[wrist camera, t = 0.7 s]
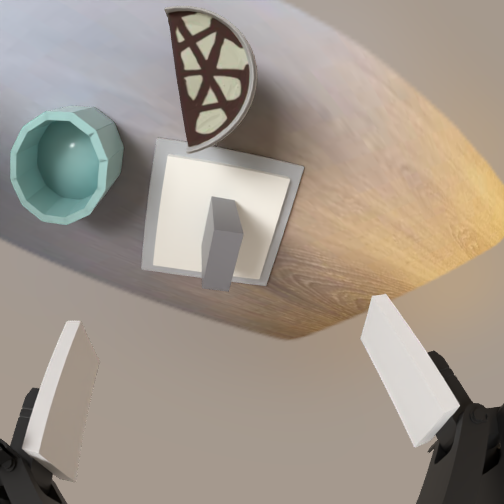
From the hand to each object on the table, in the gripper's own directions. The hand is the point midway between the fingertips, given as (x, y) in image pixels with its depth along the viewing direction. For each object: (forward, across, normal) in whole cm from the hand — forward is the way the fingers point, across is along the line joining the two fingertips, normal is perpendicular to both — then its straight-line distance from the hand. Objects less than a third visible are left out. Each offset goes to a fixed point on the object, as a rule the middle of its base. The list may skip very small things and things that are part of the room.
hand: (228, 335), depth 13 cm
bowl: (+23, -15, +5) cm, 28 cm away
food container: (+23, 0, +11) cm, 26 cm away
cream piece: (+22, 0, -4) cm, 23 cm away
